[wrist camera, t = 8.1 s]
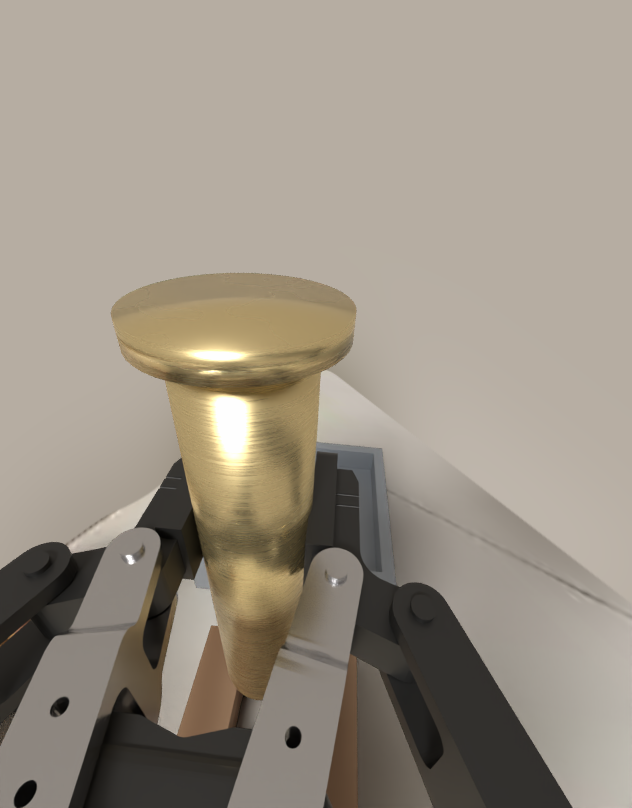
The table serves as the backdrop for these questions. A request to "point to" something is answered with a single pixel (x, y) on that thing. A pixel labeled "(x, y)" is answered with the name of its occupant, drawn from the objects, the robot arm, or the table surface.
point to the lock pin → (243, 433)
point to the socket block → (220, 705)
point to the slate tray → (371, 509)
